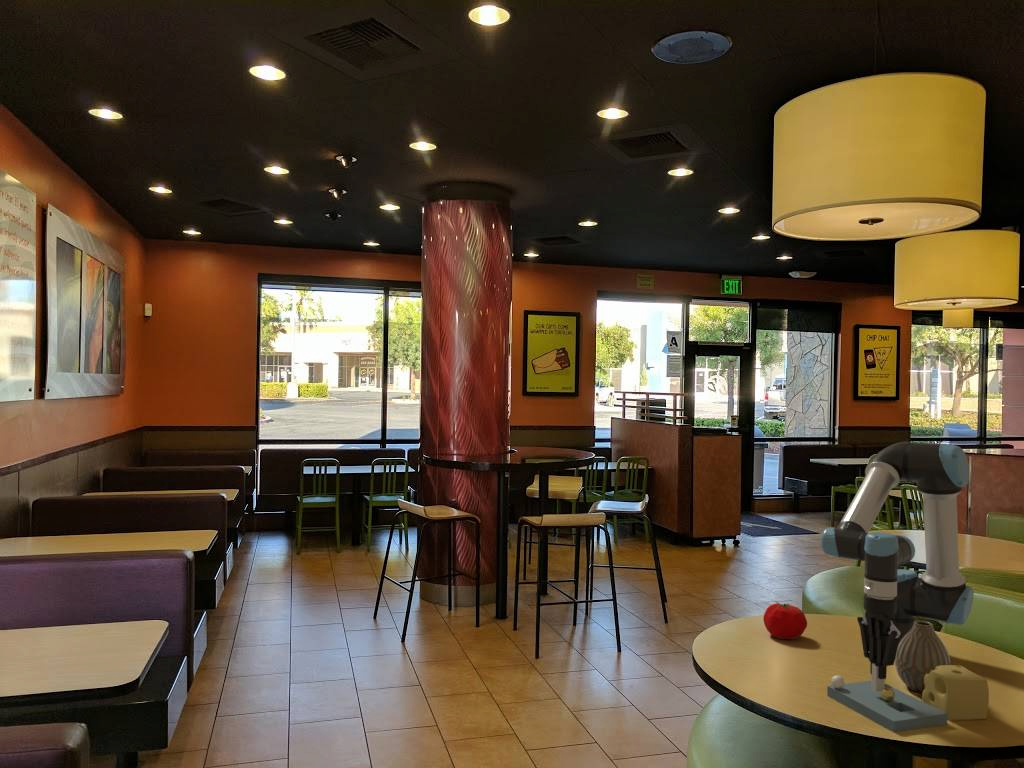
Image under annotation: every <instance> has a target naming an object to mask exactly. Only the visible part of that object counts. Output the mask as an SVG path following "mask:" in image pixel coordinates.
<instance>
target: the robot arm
mask: <svg viewBox="0 0 1024 768" xmlns="http://www.w3.org/2000/svg"><path fill="white" fill-rule="evenodd" d="M864 475H865V476H864V479H863V480H862V483H861V484H860V485H859V488H858V490H857V492H856V494H854V495H855V496H854V497H853V499H852V500H851V502H850V504H849V505H848V508H847V510H846V511H845V513H844V515H843V516H842V519H841V520H840V522H839V524H838V525H837V526H836V527H827V528H825V529H824V530H823V531H822V533H821V539H820V543H821V544H820V545H821V548H822V551H823V553H824V554H825V555H827V556H832V557H836V558H839V559H840V558H843V559H846V560H847V559H848V560H854V561H855V560H856V561H861V562H864V573H863V575H864V576H863V577H864V578H863V579H864V580H863V592H864V593H865V594H864V595H863V610H865V612H864V615H862V616H858V617H857V618H856V620H857V623H858V625H859V629H860V637H861V644H862V650H863V656H864V658H867V659H868V661H869V663H870V668H869V669H870V675H871V680H872V684H871V690H873V691H875V692H878V691H881V690H882V689H883V688H885V684H886V679H887V672H888V671H887V670H888V669H887V667H889V666H895V657H896V653H897V648H898V644H899V642H900V640H901V639H902V638H903V637H904V636H905V634H906V633H907V632H908V631H909V630H911V628H912V627H913V625H914V622H915V621H917V620H916V619H917V618H922V619H926V620H932V621H936V622H940V623H945V624H953V625H957V626H958V625H959V626H962V625H964V624H965V623H967V621H968V620H969V617H970V614H971V611H972V607H973V602H974V588H973V587H972V586H970V585H967V583H966V577H965V576H964V575H963V574H962V573H960V558H959V553H960V552H959V530H958V526H959V525H958V505H957V502H958V501H957V496H959V494H961V493H962V491H963V487H966V486H967V485H968V483H969V480H970V467H969V460H968V458H967V455H966V453H965V451H964V450H963V448H961V446H958V445H953V444H947V443H930V442H929V443H928V442H912V441H901V442H900V441H899V442H896V443H893V444H890V445H889V446H887V447H885V448H883V449H882V450H880V451H879V452H877V454H876V455H874V456H873V457H872V458H871V459H870V461H869V463H867V465H866V467H865V469H864ZM900 482H911V483H916V491H917V492H919V493H920V494H921V495H922V501H923V503H922V504H923V506H922V507H923V523H924V524H923V525H924V526H923V527H924V542H925V543H924V545H925V564H926V566H925V568H926V570H925V571H924V572H923V573H922V574H921V575H920V577H918V573H917V572H916V571H915V570H911V569H904V568H903V569H902V568H901V569H900V568H899V567H902V566H906V565H908V564H909V563H910V562H911V561H913V559H914V558H915V555H916V547H915V545H914V542H913V541H912V540H911V539H910V538H908V537H907V536H904V535H902V534H893V533H887V532H876V531H875V532H870V531H871V528H872V527H873V525H874V522H875V521H876V520H877V517H878V516H879V513H880V512H881V509H882V508H883V505H884V504H885V502H886V500H887V498H888V496H889V494H890V493H891V490H892V489H894V488H896V487H897V486H898V485H899V483H900Z"/></svg>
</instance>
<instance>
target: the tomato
mask: <svg viewBox="0 0 1024 768" xmlns="http://www.w3.org/2000/svg"><path fill="white" fill-rule="evenodd" d="M762 619H763V620H762V621H763V624H764V627H765V628H766V631H767V632H768V633H769V634H770V635H771V636H773V637H775V638H777V639H781V640H794V639H797V638H799V637H801V636H802V635H803V634H804V633H805V630H806V629H807V626H808V621H807V617H806V615H805V613H804V611H802V609H800V608H799V607H797V606H794V605H791V604H790V603H787V604H786V603H783V604H781V603H779V602H777V601H776V600H775V603H773V604H770V605H768V607H766V609H765V611H764V613H763V618H762Z"/></svg>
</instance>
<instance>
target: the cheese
mask: <svg viewBox="0 0 1024 768" xmlns="http://www.w3.org/2000/svg"><path fill="white" fill-rule="evenodd" d="M924 684H925V690H924V691H923V693H921V695H922V696H921V698H922V700H921V701H922V702H924V703H926V704H928V705H931V706H933V707H935V708H937V709H939V710H941V711H943V712H945V713H947V721H963V720H964V721H965V720H966V721H969V720H971V721H972V720H986V719H987V717H988V716H987V715H988V713H989V703H990V702H989V701H990V691H989V690H990V689H989V685H988V680H987V679H986V678H985V677H982V676H981V675H979V674H977V673H975V672H973V671H970V670H969V669H967V668H966V667H964V666H963V665H958V664H957V665H956V664H955V665H954V664H951V665H942V666H937V667H936V668H935V670H932V671H931V672H930V673H929V674H926V675H925V677H924Z"/></svg>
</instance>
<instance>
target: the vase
mask: <svg viewBox="0 0 1024 768" xmlns="http://www.w3.org/2000/svg"><path fill="white" fill-rule="evenodd" d="M942 665H952V664H951V657H950V654H949V651H948V649H947V647H946V645H945V644H944V643H943V641H942V639H941V638H940V636H939V634H937V633H936V631H935V629H934V624H933V623H932V622H929V621H925V620H916V621H915V622H914V625H913V627H912V628H911V630H909V631H908V632H907V633H906V634H905V636H904V637H903V638H902V639H901V640H900V642H899V644H898V648H897V653H896V657H895V661H894V666H895V670H896V673H897V675H898V677H899V679H900V680H901V681H902V682H903V684H905V686H907V688H908V689H909V690H911V691H914V692H917V693H921V694H922V693H923V691H924V690H925V684H924V677H925V675H926V674H929V673H930V672H931V671H932V670H935V668H936V667H937V666H942Z"/></svg>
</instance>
